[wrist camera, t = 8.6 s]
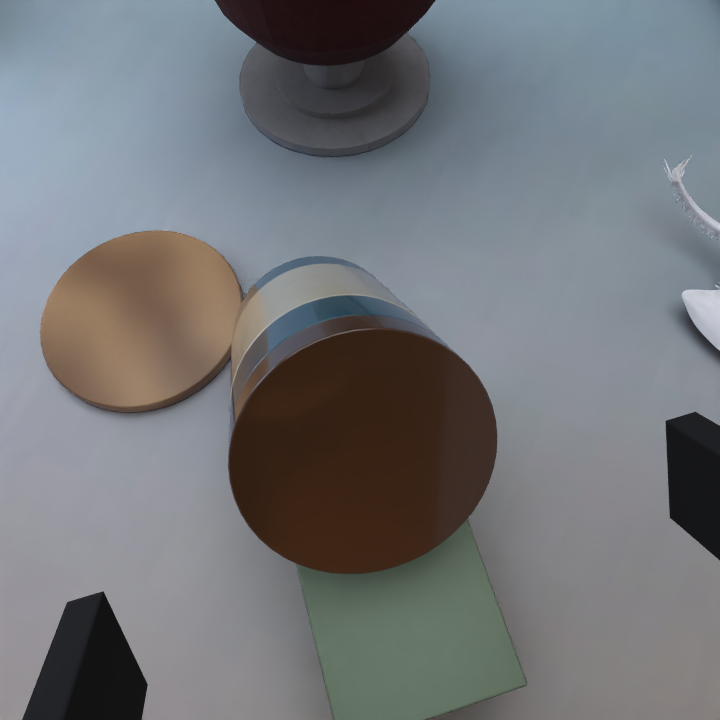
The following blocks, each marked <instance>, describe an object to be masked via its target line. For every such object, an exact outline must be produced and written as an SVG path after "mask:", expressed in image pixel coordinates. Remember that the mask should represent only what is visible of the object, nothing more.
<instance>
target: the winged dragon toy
mask: <svg viewBox="0 0 720 720" xmlns="http://www.w3.org/2000/svg"><path fill="white" fill-rule="evenodd" d="M692 155H693V154H692ZM692 155H691V156H692ZM690 158H691V157H690ZM690 158H689V159H690ZM664 159H665V158H664ZM689 159H688V160H687V161H686V162H685V163H684V164H683V162H684V161H685V160H684V161H683V162H682V163H681V164H680V165H679V164H678V165H679V166H678V165H677V166H678V167H677V166H676V167H675V168H674V170H673V171H672V172H670V170H669V167H668V165H667V163H666V160H665V163H666V166H667V170H668V173H667V171H666V173H667V175H668V174H669V175H668V177H669V179H670V181H671V187H672V186H673V185H676V186H677V185H678V186H677V188H676V190H675V192H674V194H673V196H675V194H676V193H677V192H678V191H679V192H678V194H679V193H680V196H679V198H678V200H679V199H680V198H681V197H682V196H683V197H682V201H683V200H685V202H684V205H683V207H684V206H685V208H686V211H685V212H687V213H689V212H691V211H692V213H691V215H690V217H689V219H690V218H691V217H692V219H693V222H694V221H696V220H697V219H698V221H697V223H696V225H695V227H694V228H696V227H697V226H698V225H699V224H700V223H701V222H702V224H701V227H702V226H703V227H702V229H704V230H703V232H705V231H706V230H707V229H709V230H708V232H707V235H708V234H709V233H711V232H712V231H713V233H712V236H711V238H712V237H714V236H718V237H717V239H719V238H720V223H719V222H717V221H715V220H714V219H712V218H711V217H710V216H709V215H707V214H706V213H705V212H704V211H703V210H701V209H700V208H699V207H698V206H697V204H696V203H695V202H694V201H693V199H692V198H691V197H690V196H689V194H688V193H687V191H686V190H685V188H684V186H683V184H682V183H681V178H682V176H683V174H684V171H685V170H684V171H683V172H682V170H683V169H684V167H685V165H686V164H687V162H688V161H689ZM682 164H683V165H682ZM681 165H682V166H681ZM663 166H664V165H663ZM664 168H665V167H664ZM665 170H666V169H665ZM681 172H682V173H681ZM678 200H677V201H678ZM676 203H677V202H676ZM683 207H682V208H683ZM693 222H692V223H693ZM703 232H702V233H703ZM711 238H710V239H711ZM719 283H720V282H719ZM715 286H716V287H717V288H718V289H719V290H686V291H684V292H683V293H682V299H683V301H684V304H685V306H686V309H687V311H688V313H689V315H690V317H691V319H692V321H693V323H694V324H695V325H696V327H697V328H698V329H699V331H700V332H701V333H702V334H703V335H704V336H705V337H706V338H707V339H708V340H709V341H710V342H711V343H712V344H713V345H714V346H715V347H716V348H717V349H718V350H719V351H720V287H719V286H717V285H715Z"/></svg>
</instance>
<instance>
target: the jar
mask: <svg viewBox="0 0 720 720" xmlns="http://www.w3.org/2000/svg"><path fill="white" fill-rule="evenodd" d="M229 411H230V424H229V454H228V471H229V480H230V485H231V489H232V493H233V497H234V500H235V502H236V504H237V507H238V509H239V511H240V513H241V515H242V516H243V518H244V520H245V521H246V523H247V524H248V526H249V527H250V528H251V530H252V531H253V532H254V533H255V534H256V535H257V537H258V538H259V539H260V540H261V541H263V542H264V543H265V544H266V545H267V546H268V547H269V548H271V549H272V550H273V551H275V552H276V553H278V554H279V555H281V556H282V557H284V558H286V559H288V560H290V561H292V562H294V563H296V564H298V565H301V566H304V567H307V568H310V569H313V570H317V571H322V572H328V573H336V574H365V573H371V572H378V571H382V570H386V569H390V568H394V567H397V566H400V565H402V564H405V563H408V562H410V561H412V560H414V559H416V558H418V557H420V556H422V555H424V554H426V553H428V552H429V551H431V550H432V549H434V548H436V547H437V546H439V545H440V544H441V543H442V542H444V541H445V540H446V539H447V538H449V537H450V536H451V535H452V534H453V533H454V532H455V531H456V530H457V529H458V528H459V527H460V526H461V525H462V524H463V523H464V522H465V521H466V520H467V518H468V517H469V516H470V515H471V513H472V512H473V511H474V509H475V508H476V506H477V504H478V503H479V501H480V500H481V498H482V496H483V494H484V492H485V490H486V488H487V485H488V483H489V480H490V477H491V474H492V471H493V468H494V463H495V458H496V452H497V427H496V419H495V415H494V410H493V406H492V404H491V401H490V398H489V396H488V393H487V391H486V389H485V388H484V386H483V384H482V382H481V381H480V379H479V377H478V376H477V375H476V374H475V372H474V371H473V370H472V369H471V367H470V366H469V365H468V364H467V363H466V362H465V361H464V360H463V359H462V358H461V357H459V356H458V355H457V354H456V353H455V352H454V351H453V350H452V349H451V348H450V347H449V346H448V345H447V344H446V343H445V342H443V341H442V340H441V339H440V338H439V337H438V336H437V335H436V334H435V333H434V332H433V331H432V330H431V329H430V328H429V327H428V326H427V325H426V324H425V323H424V322H423V321H422V320H421V319H420V318H419V317H418V316H417V315H415V314H414V313H413V312H412V311H411V310H410V309H409V308H408V307H407V306H406V305H405V304H404V303H403V302H402V301H400V300H399V299H398V298H397V297H396V296H395V295H394V294H393V293H392V292H391V291H390V290H389V289H388V288H387V287H385V286H384V285H383V284H382V283H381V282H380V281H378V280H377V279H376V278H375V277H374V276H373V275H372V274H371V273H369V272H368V271H366V270H365V269H363V268H362V267H360V266H358V265H356V264H354V263H351V262H349V261H346V260H343V259H338V258H334V257H324V256H314V257H305V258H300V259H296V260H293V261H290V262H287V263H284V264H282V265H280V266H278V267H276V268H274V269H273V270H271V271H270V272H268V273H267V274H265V275H264V276H263V277H262V278H261V279H260V280H258V281H257V282H256V283H255V285H254V286H253V287H252V288H251V289H250V290H249V292H248V293H247V295H246V296H245V298H244V299H243V301H242V303H241V305H240V307H239V309H238V312H237V315H236V318H235V321H234V327H233V335H232V351H231V378H230V406H229Z"/></svg>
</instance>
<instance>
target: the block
mask: <svg viewBox="0 0 720 720" xmlns="http://www.w3.org/2000/svg"><path fill="white" fill-rule="evenodd" d="M296 566H297V570H298V574H299V578H300V583H301V587H302V591H303V595H304V599H305V603H306V607H307V612H308V616H309V620H310V624H311V628H312V632H313V637H314V641H315V645H316V649H317V653H318V657H319V661H320V666H321V670H322V674H323V678H324V682H325V686H326V690H327V695H328V699H329V703H330V707H331V711H332V715H333V719H334V720H428V719H431V718H434V717H437V716H440V715H443V714H446V713H449V712H452V711H455V710H457V709H460V708H463V707H466V706H469V705H472V704H475V703H478V702H481V701H484V700H487V699H489V698H492V697H495V696H498V695H501V694H504V693H507V692H510V691H513V690H516V689H519V688H521V687H524V686H526V685H527V681H526V678H525V676H524V673H523V670H522V667H521V665H520V662H519V659H518V656H517V654H516V651H515V648H514V646H513V643H512V640H511V637H510V635H509V632H508V629H507V626H506V624H505V621H504V618H503V615H502V613H501V610H500V607H499V604H498V602H497V599H496V596H495V593H494V591H493V588H492V585H491V582H490V580H489V577H488V574H487V571H486V569H485V566H484V563H483V561H482V558H481V555H480V552H479V550H478V547H477V544H476V541H475V539H474V536H473V533H472V530H471V528H470V525H469V522H468V519H467V520H466V521H465V522H464V523H463V524H462V525H461V526H460V527H459V528H458V529H457V530H456V531H455V532H454V533H453V534H452V535H451V536H450V537H449V538H447V539H446V540H445V541H444V542H442V543H441V544H440V545H439V546H437V547H436V548H434V549H432V550H431V551H429V552H428V553H426V554H424V555H422V556H420V557H418V558H416V559H414V560H412V561H410V562H408V563H405V564H402V565H400V566H397V567H394V568H390V569H386V570H382V571H378V572H371V573H365V574H336V573H328V572H322V571H317V570H313V569H310V568H307V567H304V566H301V565H298V564H296Z"/></svg>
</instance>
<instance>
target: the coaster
mask: <svg viewBox="0 0 720 720" xmlns="http://www.w3.org/2000/svg"><path fill="white" fill-rule="evenodd" d="M242 301H243V295H242V291H241V288H240V285H239V283H238V280H237V277H236V275H235V273H234V271H233V270H232V268H231V266H230V265H229V263H228V262H227V261H226V260H225V258H224V257H223V256H222V255H221V254H220V253H218V252H217V251H216V250H215V249H214V248H212V247H211V246H209V245H208V244H206V243H205V242H203V241H201V240H199V239H196V238H194V237H191V236H188V235H185V234H181V233H177V232H171V231H143V232H136V233H132V234H127V235H123V236H120V237H117V238H114V239H112V240H110V241H107V242H105V243H103V244H101V245H99V246H97V247H96V248H94V249H92V250H90V251H89V252H87V253H86V254H85V255H83V256H82V257H81V258H79V259H78V260H77V261H76V262H75V263H74V264H73V265H71V266H70V267H69V268H68V270H67V271H66V272H65V273H64V274H63V275H62V276H61V278H60V279H59V280H58V282H57V283H56V285H55V286H54V288H53V290H52V291H51V293H50V295H49V297H48V299H47V302H46V305H45V307H44V310H43V315H42V319H41V327H40V339H41V347H42V351H43V355H44V358H45V360H46V363H47V365H48V367H49V369H50V370H51V372H52V374H53V375H54V376H55V378H56V379H57V380H58V381H59V382H60V383H61V384H62V385H63V386H64V387H65V388H66V389H68V390H69V391H70V392H71V393H72V394H74V395H75V396H76V397H78V398H79V399H81V400H83V401H84V402H86V403H88V404H91V405H93V406H96V407H98V408H102V409H106V410H110V411H118V412H142V411H149V410H155V409H158V408H162V407H166V406H169V405H171V404H174V403H176V402H179V401H181V400H183V399H185V398H187V397H189V396H191V395H192V394H194V393H195V392H197V391H198V390H200V389H201V388H203V387H204V386H205V385H206V384H207V383H209V382H210V381H211V380H212V379H213V378H214V377H215V376H216V375H217V374H218V373H219V372H220V371H221V370H222V368H223V367H224V366H225V364H226V363H227V362H228V360H229V359H230V357H231V351H232V335H233V327H234V321H235V318H236V315H237V312H238V309H239V307H240V305H241V303H242Z"/></svg>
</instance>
